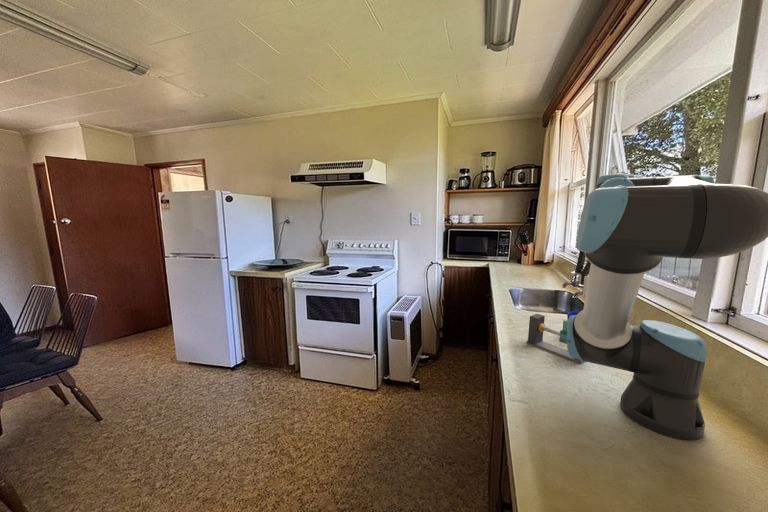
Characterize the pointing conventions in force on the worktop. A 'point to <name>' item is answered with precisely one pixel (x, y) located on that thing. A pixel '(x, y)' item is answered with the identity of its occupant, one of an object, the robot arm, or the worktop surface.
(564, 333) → the sleeve
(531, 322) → the grey slider rail stand
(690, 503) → the worktop surface
